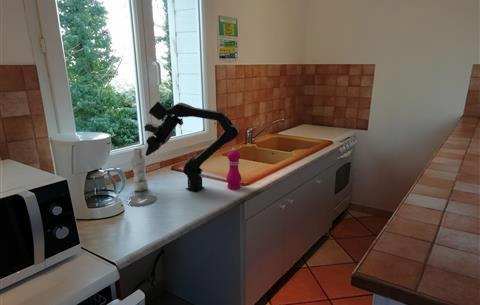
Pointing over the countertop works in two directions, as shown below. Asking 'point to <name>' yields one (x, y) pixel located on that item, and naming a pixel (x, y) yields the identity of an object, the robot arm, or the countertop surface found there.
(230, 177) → the pepper mill
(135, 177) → the silver bottle
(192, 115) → the robot arm
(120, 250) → the countertop surface
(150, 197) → the round gray disc
